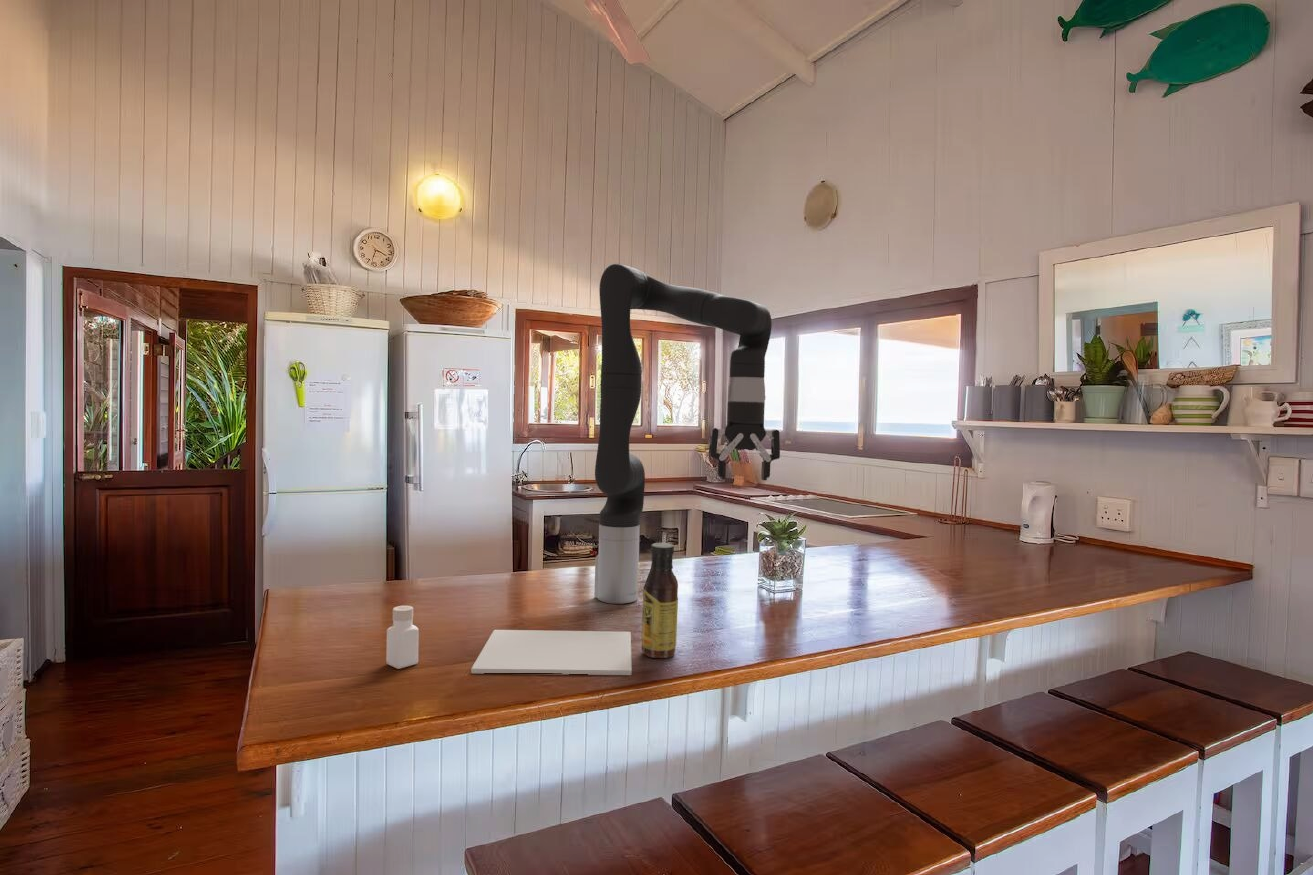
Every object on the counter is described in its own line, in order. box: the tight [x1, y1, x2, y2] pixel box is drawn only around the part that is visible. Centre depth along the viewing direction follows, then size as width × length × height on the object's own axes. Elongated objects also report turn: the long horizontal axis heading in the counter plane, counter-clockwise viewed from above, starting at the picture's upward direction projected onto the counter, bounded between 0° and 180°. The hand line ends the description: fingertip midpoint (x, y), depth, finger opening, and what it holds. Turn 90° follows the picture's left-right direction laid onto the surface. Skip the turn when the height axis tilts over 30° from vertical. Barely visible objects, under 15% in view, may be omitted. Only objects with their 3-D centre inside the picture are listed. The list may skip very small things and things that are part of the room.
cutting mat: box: [470, 629, 633, 676], centre depth 125 cm, size 26×20×1 cm
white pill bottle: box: [385, 605, 420, 670], centre depth 117 cm, size 4×4×10 cm
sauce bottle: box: [641, 542, 679, 659], centre depth 125 cm, size 6×6×20 cm
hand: (743, 479), depth 144 cm, fingers open, 8 cm apart
